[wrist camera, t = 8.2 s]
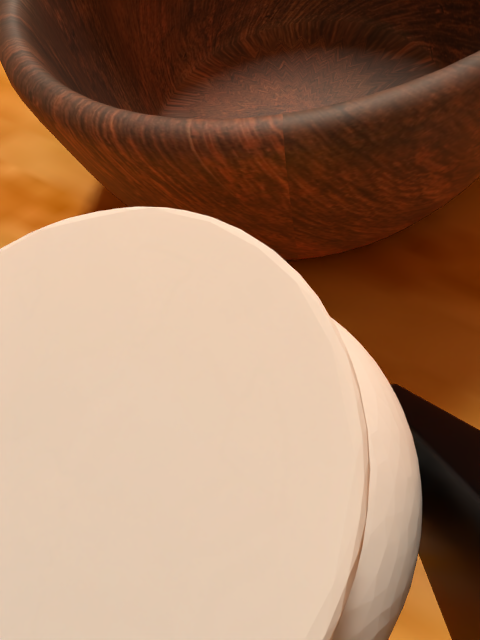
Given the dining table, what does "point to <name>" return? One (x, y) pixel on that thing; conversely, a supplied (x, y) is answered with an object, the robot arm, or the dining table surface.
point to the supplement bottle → (191, 443)
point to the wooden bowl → (261, 107)
